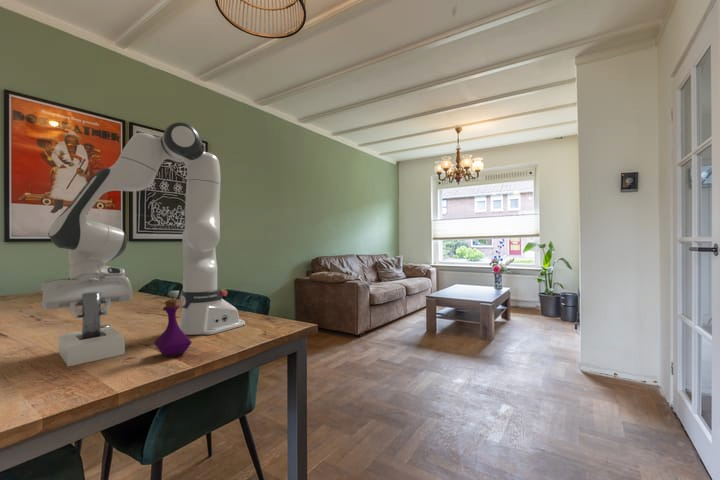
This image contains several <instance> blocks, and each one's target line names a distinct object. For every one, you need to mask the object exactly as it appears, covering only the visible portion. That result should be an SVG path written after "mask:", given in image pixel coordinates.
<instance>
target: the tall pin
mask: <svg viewBox="0 0 720 480" xmlns="http://www.w3.org/2000/svg"><path fill="white" fill-rule="evenodd" d="M101 305H102V304H101V292H90V293H83V294H82V308H81V309H82V310H83V317H81V318H82V319H81V322H82V323H81V324H82V327H81V331H82V340H84V339H90V338H95V337H100V325H101V324H102V323H101V317H102V315H101V307H102V306H101Z"/></svg>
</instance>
